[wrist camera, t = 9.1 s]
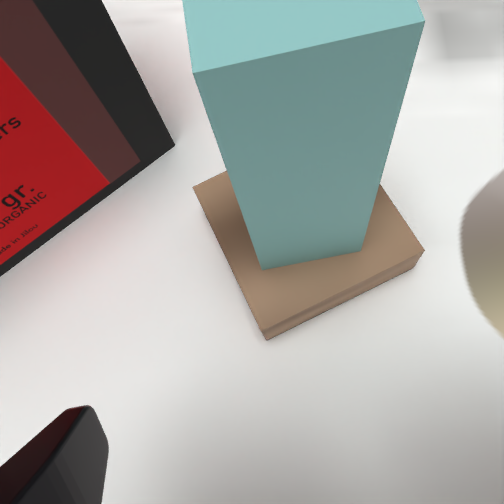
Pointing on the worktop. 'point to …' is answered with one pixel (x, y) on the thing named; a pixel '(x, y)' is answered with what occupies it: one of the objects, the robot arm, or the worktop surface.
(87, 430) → the robot arm
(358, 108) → the teal block
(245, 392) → the worktop surface
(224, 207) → the walnut slab
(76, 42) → the cleaning product box
